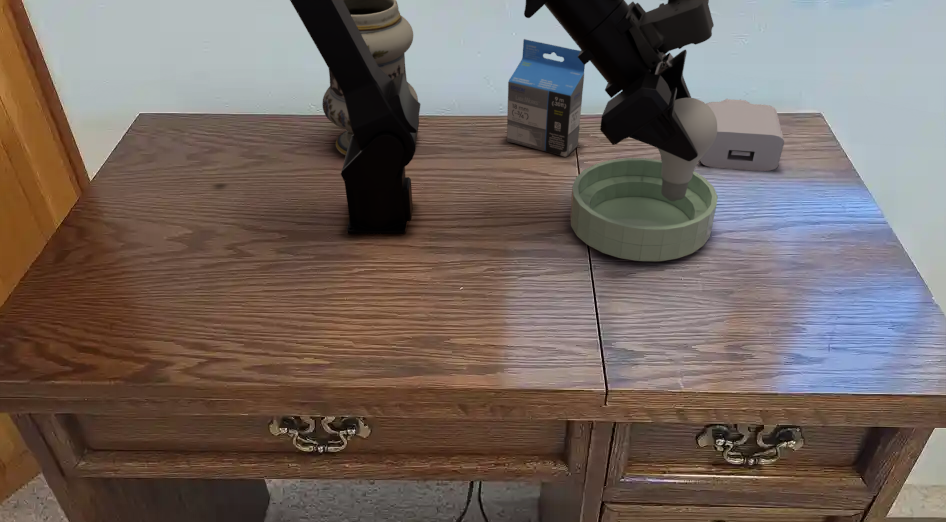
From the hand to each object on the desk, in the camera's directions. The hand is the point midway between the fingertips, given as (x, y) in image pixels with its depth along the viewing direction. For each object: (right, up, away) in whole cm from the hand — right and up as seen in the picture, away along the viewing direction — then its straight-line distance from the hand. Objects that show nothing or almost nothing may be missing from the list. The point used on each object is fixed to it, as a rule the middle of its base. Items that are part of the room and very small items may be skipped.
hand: (696, 144), depth 80 cm
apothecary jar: (-35, +6, +25) cm, 44 cm away
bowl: (-4, -7, +9) cm, 12 cm away
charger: (+12, +6, +24) cm, 28 cm away
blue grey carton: (-13, +6, +24) cm, 28 cm away
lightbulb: (-1, -5, +5) cm, 7 cm away
